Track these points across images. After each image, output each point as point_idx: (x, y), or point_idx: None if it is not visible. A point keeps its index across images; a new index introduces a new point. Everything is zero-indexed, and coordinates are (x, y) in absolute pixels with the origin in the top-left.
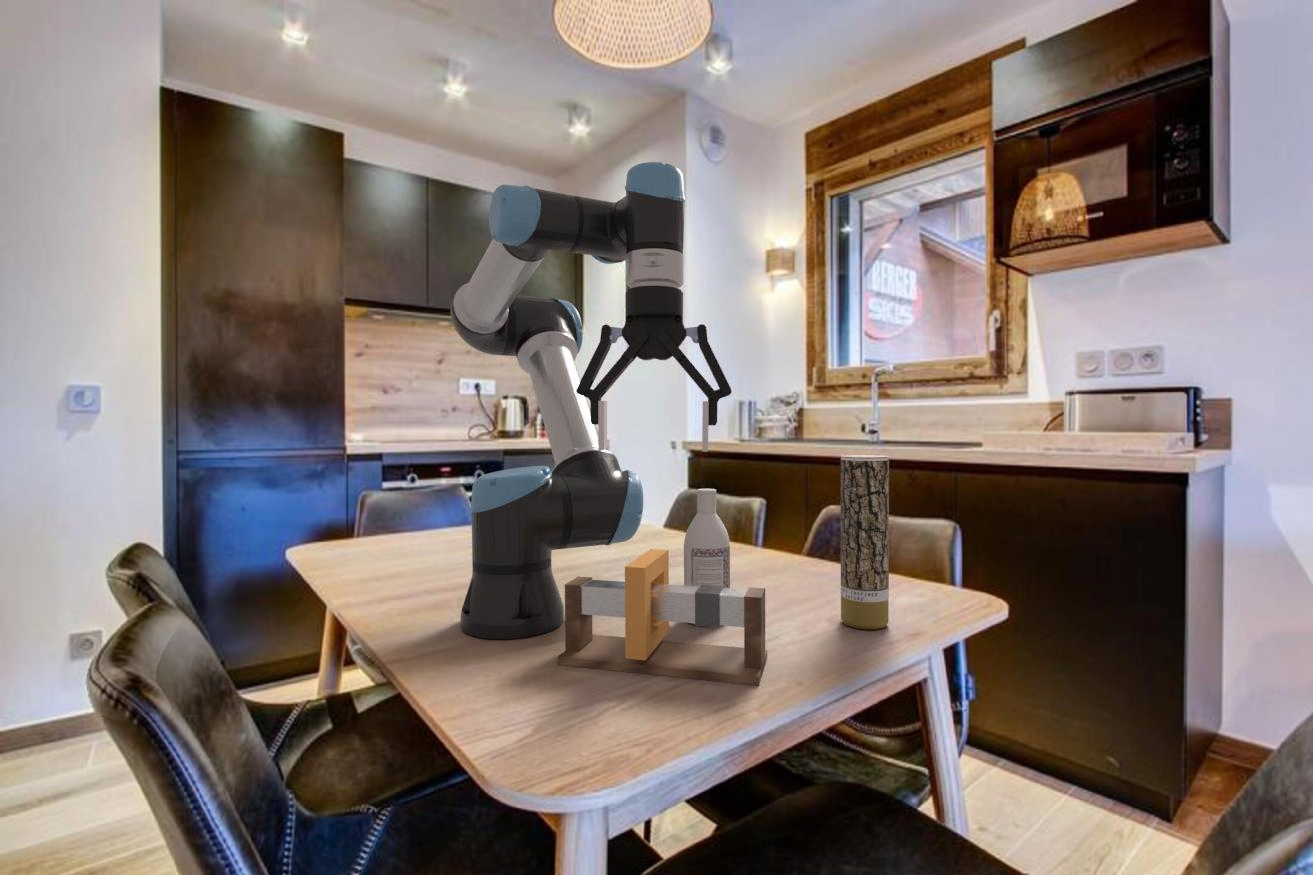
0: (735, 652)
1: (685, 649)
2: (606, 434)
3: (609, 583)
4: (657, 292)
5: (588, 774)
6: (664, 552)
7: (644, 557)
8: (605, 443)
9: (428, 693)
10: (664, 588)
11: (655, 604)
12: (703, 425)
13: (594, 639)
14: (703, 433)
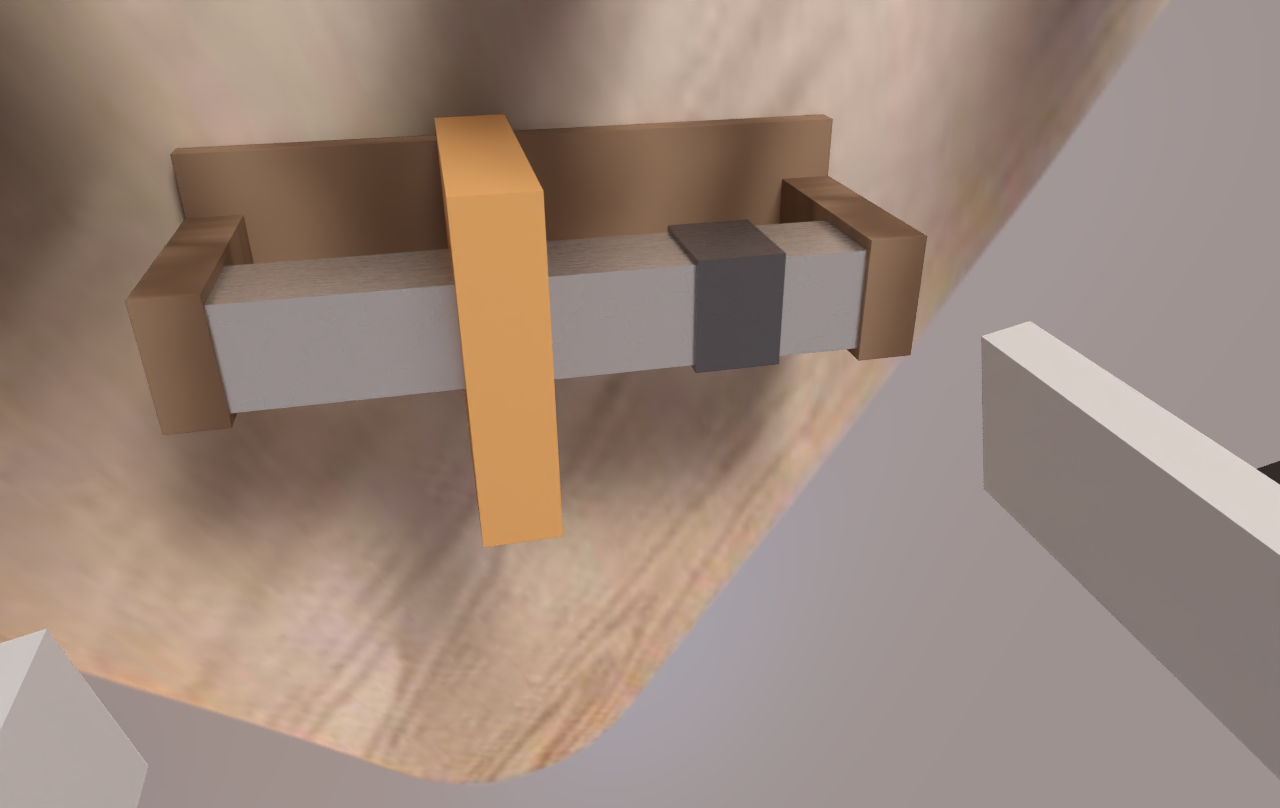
0: (741, 173)
1: (587, 197)
2: (15, 783)
3: (322, 337)
4: None
5: (569, 717)
6: (543, 255)
7: (492, 381)
8: (83, 751)
9: (34, 630)
10: (567, 333)
11: None
12: (1143, 630)
13: (245, 204)
14: (1089, 580)
